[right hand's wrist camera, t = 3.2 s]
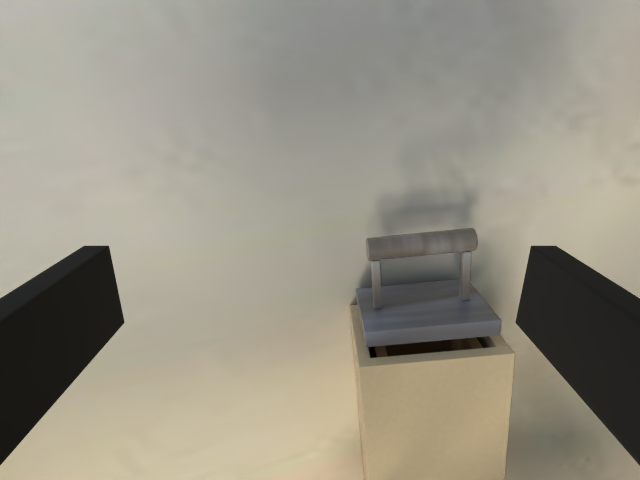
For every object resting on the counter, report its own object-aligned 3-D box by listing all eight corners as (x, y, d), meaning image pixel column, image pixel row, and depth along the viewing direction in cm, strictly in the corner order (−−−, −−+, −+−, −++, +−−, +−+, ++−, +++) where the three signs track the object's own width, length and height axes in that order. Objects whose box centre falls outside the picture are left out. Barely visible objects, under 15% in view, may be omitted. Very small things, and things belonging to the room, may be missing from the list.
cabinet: (349, 305, 33) (359, 367, 25) (468, 293, 33) (515, 353, 25) (364, 480, 40) (375, 570, 32) (462, 472, 40) (497, 561, 32)
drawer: (350, 225, 29) (359, 257, 24) (468, 213, 29) (506, 242, 23) (369, 465, 38) (379, 532, 32) (460, 458, 38) (487, 524, 32)
